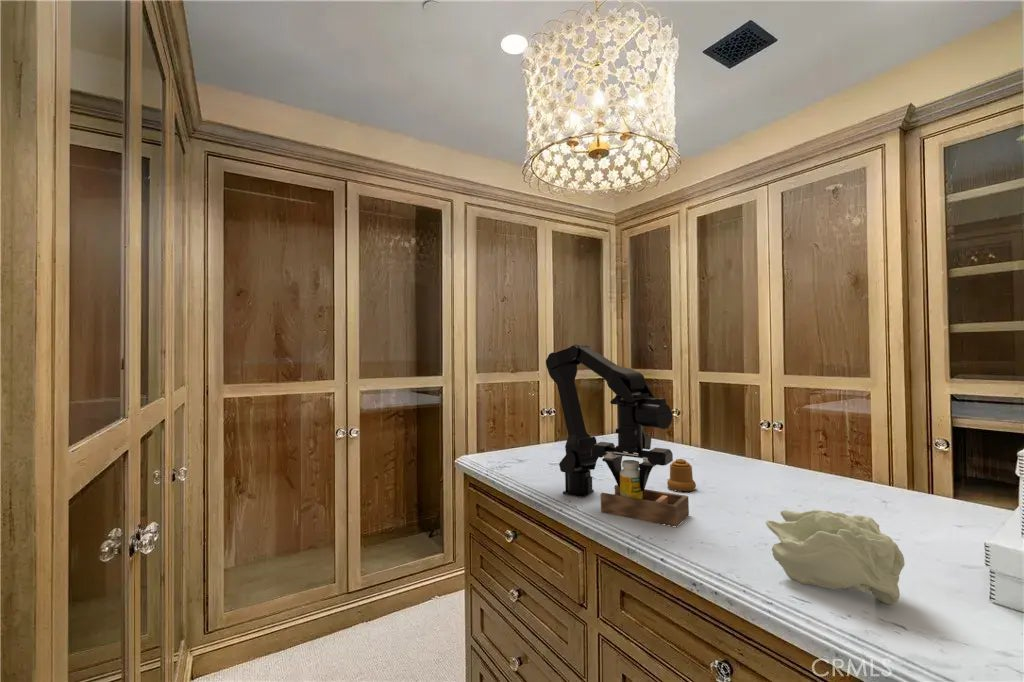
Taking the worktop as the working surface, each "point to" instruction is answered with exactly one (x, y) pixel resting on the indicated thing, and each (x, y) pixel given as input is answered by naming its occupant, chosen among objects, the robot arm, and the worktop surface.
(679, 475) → the ornamental finial
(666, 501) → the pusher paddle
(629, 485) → the supplement bottle
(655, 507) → the pusher lane
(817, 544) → the wavy plaster lump
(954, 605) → the worktop surface
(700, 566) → the worktop surface
